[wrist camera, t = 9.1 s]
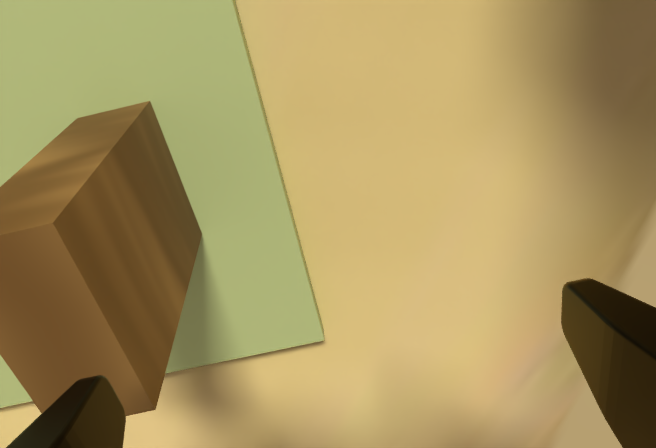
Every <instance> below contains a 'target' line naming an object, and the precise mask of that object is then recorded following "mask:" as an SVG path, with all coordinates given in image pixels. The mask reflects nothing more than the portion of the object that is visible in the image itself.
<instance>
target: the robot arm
mask: <svg viewBox="0 0 656 448" xmlns="http://www.w3.org/2000/svg"><path fill="white" fill-rule="evenodd" d="M561 324H562V329H563V332H564V335H565V337H566V339H567V341H568V343H569V346H570V348H571V350H572V352H573V354H574V356H575V358H576V360H577V362H578V364H579V366H580V368H581V370H582V373H583V375H584V377H585V379H586V381H587V383H588V385H589V387H590V389H591V391H592V393H593V395H594V397H595V399H596V402H597V404H598V405H599V408H600V410H601V411H602V413H603V415H604V417H605V419H606V421H607V422H608V424H609V426H610V427H611V429H612V431H613V433H614V434H615V436H616V437H617V439H618V441H619V442H620V444H621V445H622V447H623V448H656V308H655V307H653V306H651V305H649V304H646V303H644V302H642V301H640V300H638V299H636V298H633V297H631V296H629V295H627V294H625V293H622V292H620V291H618V290H616V289H614V288H611V287H609V286H607V285H605V284H603V283H600V282H598V281H596V280H593V279H590V278H587V279H581V280H576V281H571V282H567V283H566V284H565V285H564V287H563V290H562V313H561ZM125 422H126V416H125V410H124V407H123V405H122V403H121V402H120V400H119V398H118V396H117V394H116V393H115V391H114V389H113V387H112V386H111V384H110V382H109V380H108V379H107V378H106V377H105V376H103V375H97V376H92V377H87V378H82V379H79V380H77V381H76V382H75V383H74V384H73V385H72V386H71V387H69V388H68V389H67V390H66V391H65V392H64V393H63V394H62V395H61V396H60V397H59V398H58V399H57V400H56V401H55V402H54V403H53V404H52V405H51V406H50V407H48V408H47V409H46V410H45V411H44V412H43V413H42V414H41V415H40V416H39V417H38V418H37V419H36V420H35V421H34V422H33V423H32V424H31V425H30V426H28V427H27V428H26V429H25V430H24V431H23V432H22V433H21V434H20V435H19V436H18V437H17V438H16V439H15V440H14V441H13V442H12V443H11V444H10V445H8V446H7V447H6V448H123V440H124V431H125Z"/></svg>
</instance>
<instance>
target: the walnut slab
mask: <svg viewBox="0 0 656 448" xmlns="http://www.w3.org/2000/svg"><path fill="white" fill-rule="evenodd" d="M201 237H202V232H201V230H200V227H199V224H198V222H197V219H196V217H195V214H194V212H193V209H192V207H191V204H190V201H189V199H188V196H187V194H186V191H185V189H184V186H183V184H182V181H181V178H180V176H179V173H178V171H177V168H176V166H175V163H174V161H173V158H172V155H171V153H170V150H169V148H168V145H167V143H166V140H165V138H164V135H163V132H162V130H161V127H160V125H159V122H158V120H157V117H156V115H155V112H154V109H153V107H152V104H151V102H150V101H147V102H143V103H139V104H134V105H130V106H126V107H122V108H118V109H114V110H109V111H105V112H101V113H97V114H93V115H89V116H84V117H80V118H77V119H76V120H75V121H73V122H72V123H71V124H70V125H69V126H68V127H67V128H66V129H64V130H63V131H62V132H61V133H60V134H59V135H58V136H57V137H55V138H54V139H53V140H52V141H51V142H50V143H49V144H48V145H47V146H45V147H44V148H43V149H42V150H41V151H40V152H39V153H38V154H36V155H35V156H34V157H33V158H32V159H31V160H30V161H29V162H28V163H26V164H25V165H24V166H23V167H22V168H21V169H20V170H19V171H17V172H16V173H15V174H14V175H13V176H12V177H11V178H10V179H9V180H7V181H6V182H5V183H4V184H3V185H2V186H1V187H0V355H1V357H2V358H3V359H4V361H5V362H6V364H7V365H8V366H9V368H10V369H11V371H12V372H13V374H14V375H15V376H16V378H17V379H18V381H19V382H20V383H21V385H22V386H23V388H24V389H25V390H26V392H27V393H28V395H29V396H30V397H31V399H32V400H33V402H34V403H35V405H36V406H37V407H38V409H39V410H40V412H41V413H43V412H44V411H45V410H46V409H47V408H48V407H50V406H51V405H52V404H53V403H54V402H55V401H56V400H57V399H58V398H59V397H60V396H61V395H62V394H63V393H64V392H65V391H66V390H67V389H68V388H69V387H71V386H72V385H73V384H74V383H75V382H76V381H77V380H79V379H82V378H87V377H92V376H97V375H103V376H105V377H106V378H107V379H108V380H109V382H110V384H111V386H112V387H113V389H114V391H115V393H116V394H117V396H118V398H119V400H120V402H121V403H122V405H123V407H124V410H125V416H129V415H133V414H138V413H142V412H147V411H152V410H155V409H156V406H157V402H158V398H159V394H160V391H161V387H162V383H163V380H164V376H165V372H166V368H167V365H168V361H169V357H170V353H171V350H172V346H173V342H174V338H175V335H176V331H177V327H178V323H179V320H180V316H181V312H182V308H183V305H184V301H185V297H186V293H187V290H188V286H189V282H190V278H191V275H192V271H193V267H194V263H195V260H196V256H197V252H198V248H199V245H200V241H201Z"/></svg>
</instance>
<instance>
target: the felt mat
mask: <svg viewBox="0 0 656 448" xmlns="http://www.w3.org/2000/svg"><path fill="white" fill-rule="evenodd" d="M147 101H150V102H151V104H152V107H153V109H154V112H155V115H156V117H157V120H158V122H159V125H160V127H161V130H162V132H163V135H164V138H165V140H166V143H167V145H168V148H169V150H170V153H171V155H172V158H173V161H174V163H175V166H176V168H177V171H178V173H179V176H180V178H181V181H182V184H183V186H184V189H185V191H186V194H187V196H188V199H189V201H190V204H191V207H192V209H193V212H194V214H195V217H196V219H197V222H198V224H199V227H200V230H201V232H202V237H201V241H200V245H199V248H198V252H197V256H196V260H195V263H194V267H193V271H192V275H191V278H190V282H189V286H188V290H187V293H186V297H185V301H184V305H183V308H182V312H181V316H180V320H179V323H178V327H177V331H176V335H175V338H174V342H173V346H172V350H171V353H170V357H169V361H168V365H167V368H166V372H165V374H166V373H170V372H175V371H180V370H185V369H190V368H194V367H199V366H204V365H209V364H214V363H218V362H223V361H228V360H233V359H238V358H242V357H247V356H252V355H257V354H262V353H266V352H271V351H276V350H281V349H286V348H291V347H295V346H300V345H305V344H310V343H315V342H319V341H324V331H323V325H322V322H321V318H320V314H319V310H318V307H317V303H316V299H315V296H314V292H313V288H312V284H311V281H310V277H309V273H308V270H307V266H306V262H305V258H304V255H303V251H302V247H301V244H300V240H299V236H298V232H297V229H296V225H295V221H294V218H293V214H292V210H291V206H290V203H289V199H288V195H287V191H286V188H285V184H284V180H283V177H282V173H281V169H280V165H279V162H278V158H277V154H276V151H275V147H274V143H273V139H272V136H271V132H270V128H269V125H268V121H267V117H266V113H265V110H264V106H263V102H262V99H261V95H260V91H259V87H258V84H257V80H256V76H255V73H254V69H253V65H252V61H251V58H250V54H249V50H248V47H247V43H246V39H245V35H244V32H243V28H242V24H241V20H240V17H239V13H238V9H237V6H236V2H235V0H0V187H1V186H2V185H3V184H4V183H5V182H6V181H7V180H9V179H10V178H11V177H12V176H13V175H14V174H15V173H16V172H17V171H19V170H20V169H21V168H22V167H23V166H24V165H25V164H26V163H28V162H29V161H30V160H31V159H32V158H33V157H34V156H35V155H36V154H38V153H39V152H40V151H41V150H42V149H43V148H44V147H45V146H47V145H48V144H49V143H50V142H51V141H52V140H53V139H54V138H55V137H57V136H58V135H59V134H60V133H61V132H62V131H63V130H64V129H66V128H67V127H68V126H69V125H70V124H71V123H72V122H73V121H75V120H76V119H77V118H80V117H84V116H89V115H93V114H97V113H101V112H105V111H109V110H114V109H118V108H122V107H126V106H130V105H134V104H139V103H143V102H147ZM31 401H33V400H32V399H31V397H30V396H29V395H28V393H27V392H26V390H25V389H24V388H23V386H22V385H21V383H20V382H19V381H18V379H17V378H16V376H15V375H14V374H13V372H12V371H11V369H10V368H9V366H8V365H7V364H6V362H5V361H4V359H3V358H2V357H1V355H0V408H2V407H7V406H12V405H17V404H22V403H26V402H31Z"/></svg>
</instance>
